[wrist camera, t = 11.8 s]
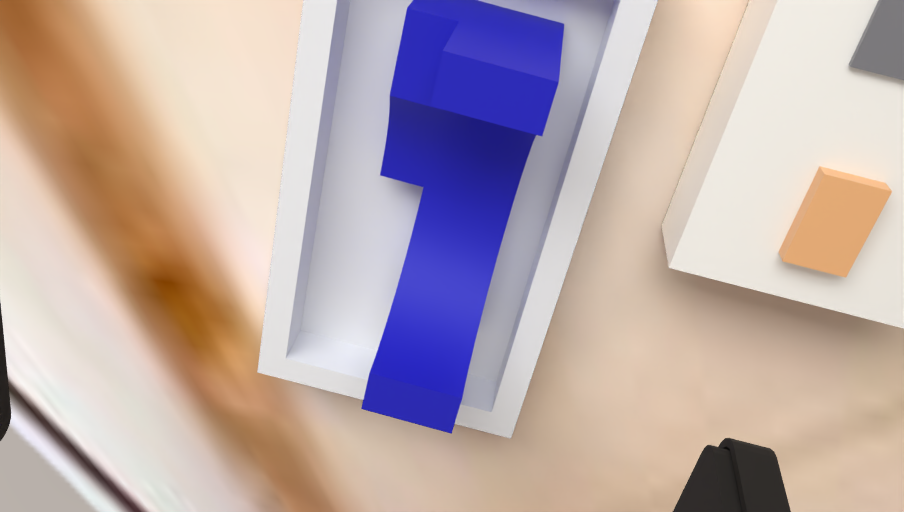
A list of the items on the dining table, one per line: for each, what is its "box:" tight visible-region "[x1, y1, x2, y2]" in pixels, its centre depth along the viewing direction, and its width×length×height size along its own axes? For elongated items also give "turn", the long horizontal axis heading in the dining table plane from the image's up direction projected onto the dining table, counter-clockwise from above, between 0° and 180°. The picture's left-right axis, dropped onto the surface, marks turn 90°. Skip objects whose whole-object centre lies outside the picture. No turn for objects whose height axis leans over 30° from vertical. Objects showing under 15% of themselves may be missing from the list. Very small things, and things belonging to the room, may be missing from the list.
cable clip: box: [361, 0, 564, 433], centre depth 27 cm, size 12×4×6 cm, turn 167°
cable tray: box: [258, 0, 658, 439], centre depth 29 cm, size 10×18×2 cm, turn 168°
